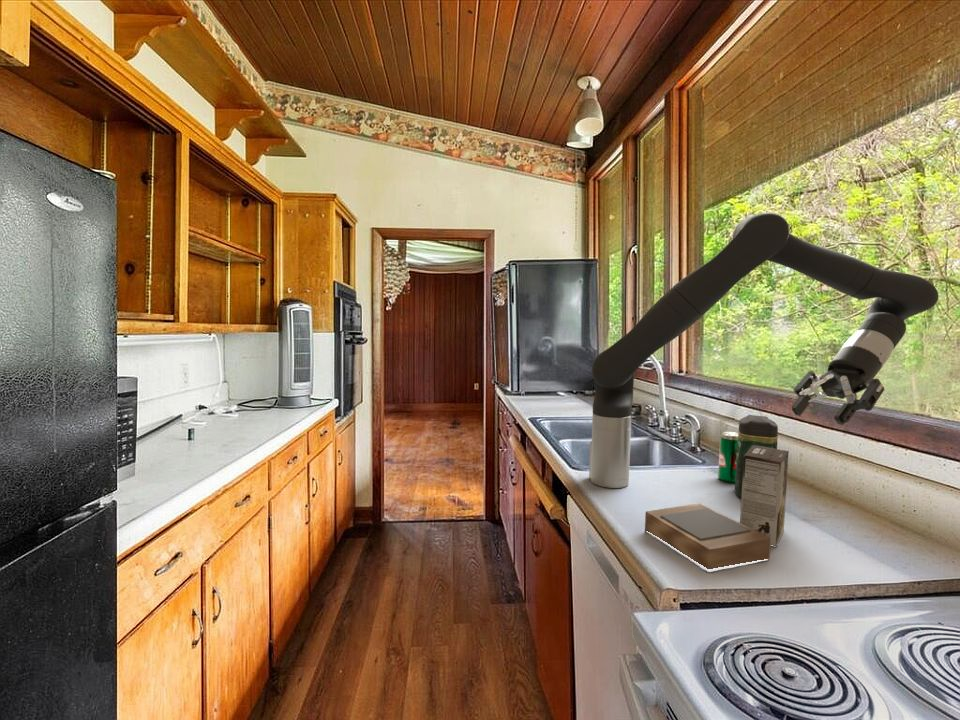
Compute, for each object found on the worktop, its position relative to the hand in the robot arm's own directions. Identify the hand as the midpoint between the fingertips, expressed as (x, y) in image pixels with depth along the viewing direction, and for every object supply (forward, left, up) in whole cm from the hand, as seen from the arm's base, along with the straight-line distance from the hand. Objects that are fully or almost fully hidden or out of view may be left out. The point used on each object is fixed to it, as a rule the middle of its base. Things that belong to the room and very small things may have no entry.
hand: (815, 417), depth 95 cm
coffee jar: (-16, +4, -22) cm, 28 cm away
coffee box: (0, -12, -22) cm, 25 cm away
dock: (0, -26, -22) cm, 34 cm away
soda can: (-26, +7, -22) cm, 35 cm away
